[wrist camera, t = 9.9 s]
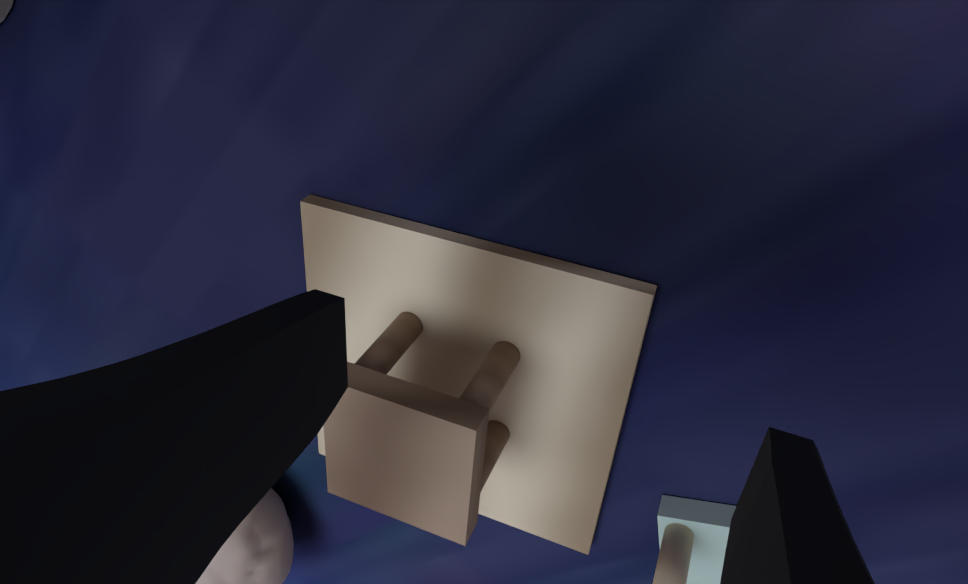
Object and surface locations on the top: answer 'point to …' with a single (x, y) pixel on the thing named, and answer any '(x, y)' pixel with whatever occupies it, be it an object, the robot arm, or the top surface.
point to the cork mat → (473, 332)
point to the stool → (416, 437)
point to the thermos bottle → (5, 8)
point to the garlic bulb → (255, 548)
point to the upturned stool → (691, 540)
